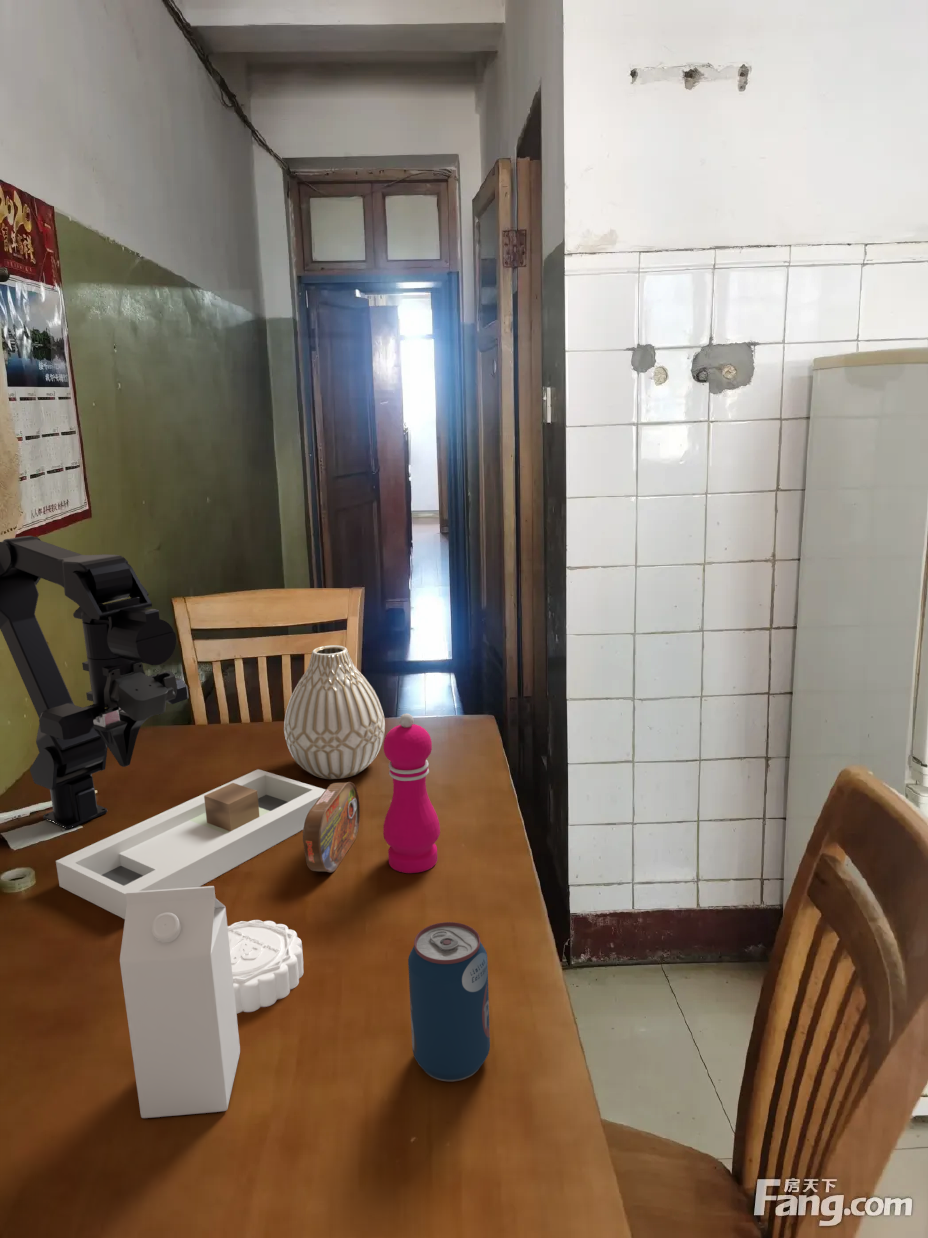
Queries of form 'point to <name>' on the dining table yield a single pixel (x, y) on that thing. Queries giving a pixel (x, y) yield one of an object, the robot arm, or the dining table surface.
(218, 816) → the walnut block
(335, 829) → the tin
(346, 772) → the vase
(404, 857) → the pepper mill
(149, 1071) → the milk carton
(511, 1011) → the dining table surface
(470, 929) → the soda can
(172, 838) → the box
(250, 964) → the mooncake
